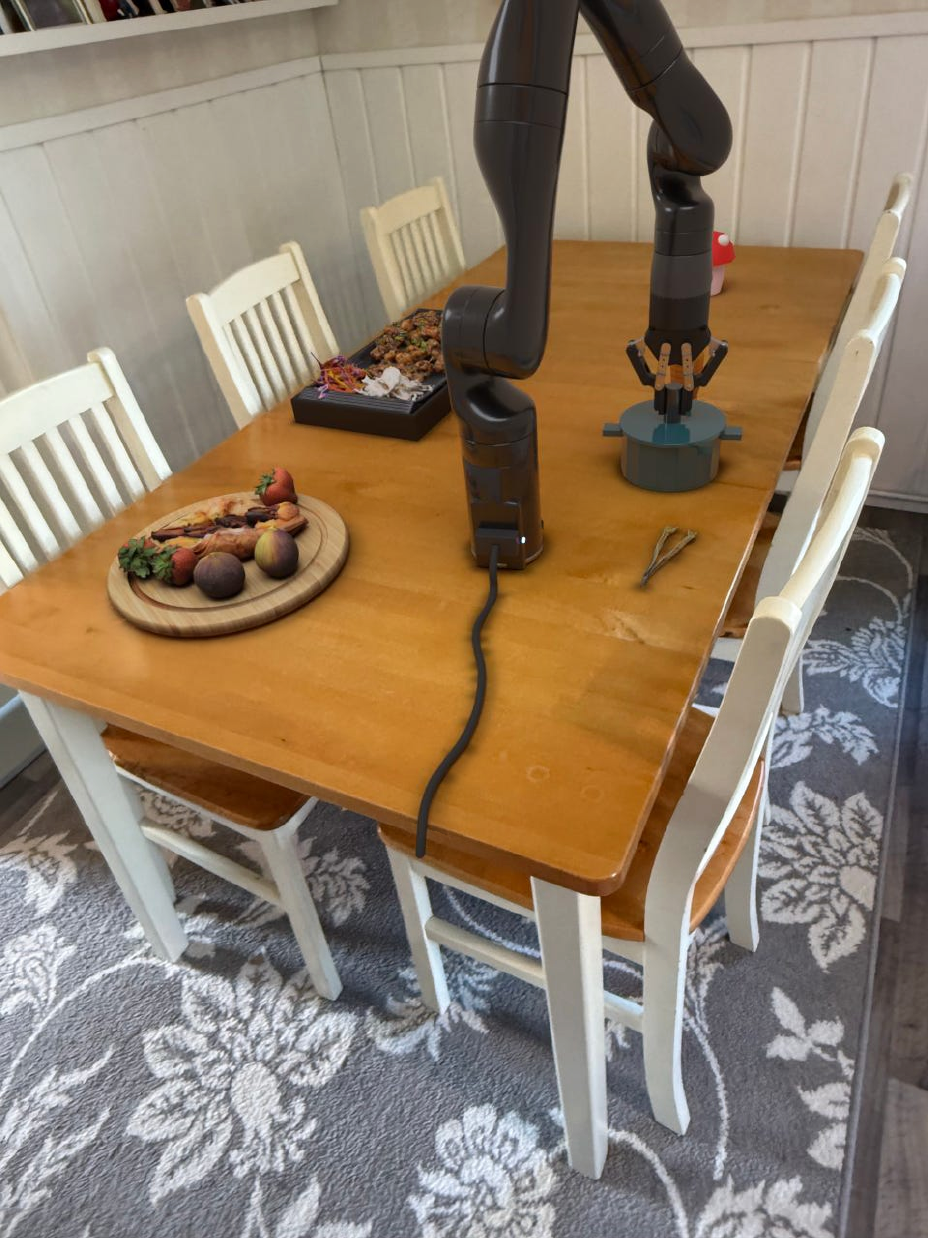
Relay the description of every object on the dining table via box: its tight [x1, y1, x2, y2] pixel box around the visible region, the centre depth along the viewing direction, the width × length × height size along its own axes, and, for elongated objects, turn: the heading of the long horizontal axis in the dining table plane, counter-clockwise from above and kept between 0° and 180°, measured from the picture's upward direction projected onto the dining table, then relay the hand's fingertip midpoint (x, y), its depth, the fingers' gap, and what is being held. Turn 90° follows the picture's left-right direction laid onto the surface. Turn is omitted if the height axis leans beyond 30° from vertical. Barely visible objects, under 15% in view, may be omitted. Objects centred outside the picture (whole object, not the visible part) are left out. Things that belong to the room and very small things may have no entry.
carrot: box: [669, 350, 705, 400], centre depth 131 cm, size 5×5×15 cm
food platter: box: [289, 307, 452, 442], centre depth 155 cm, size 45×25×10 cm, turn 153°
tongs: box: [640, 525, 698, 589], centre depth 105 cm, size 4×13×2 cm, turn 151°
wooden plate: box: [106, 467, 350, 638], centre depth 112 cm, size 32×32×8 cm
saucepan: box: [602, 422, 743, 493], centre depth 121 cm, size 14×19×7 cm
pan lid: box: [618, 382, 728, 448], centre depth 118 cm, size 15×15×6 cm
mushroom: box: [710, 230, 736, 297], centre depth 176 cm, size 11×11×12 cm
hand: (672, 412), depth 118 cm, fingers closed on pan lid, 2 cm apart
